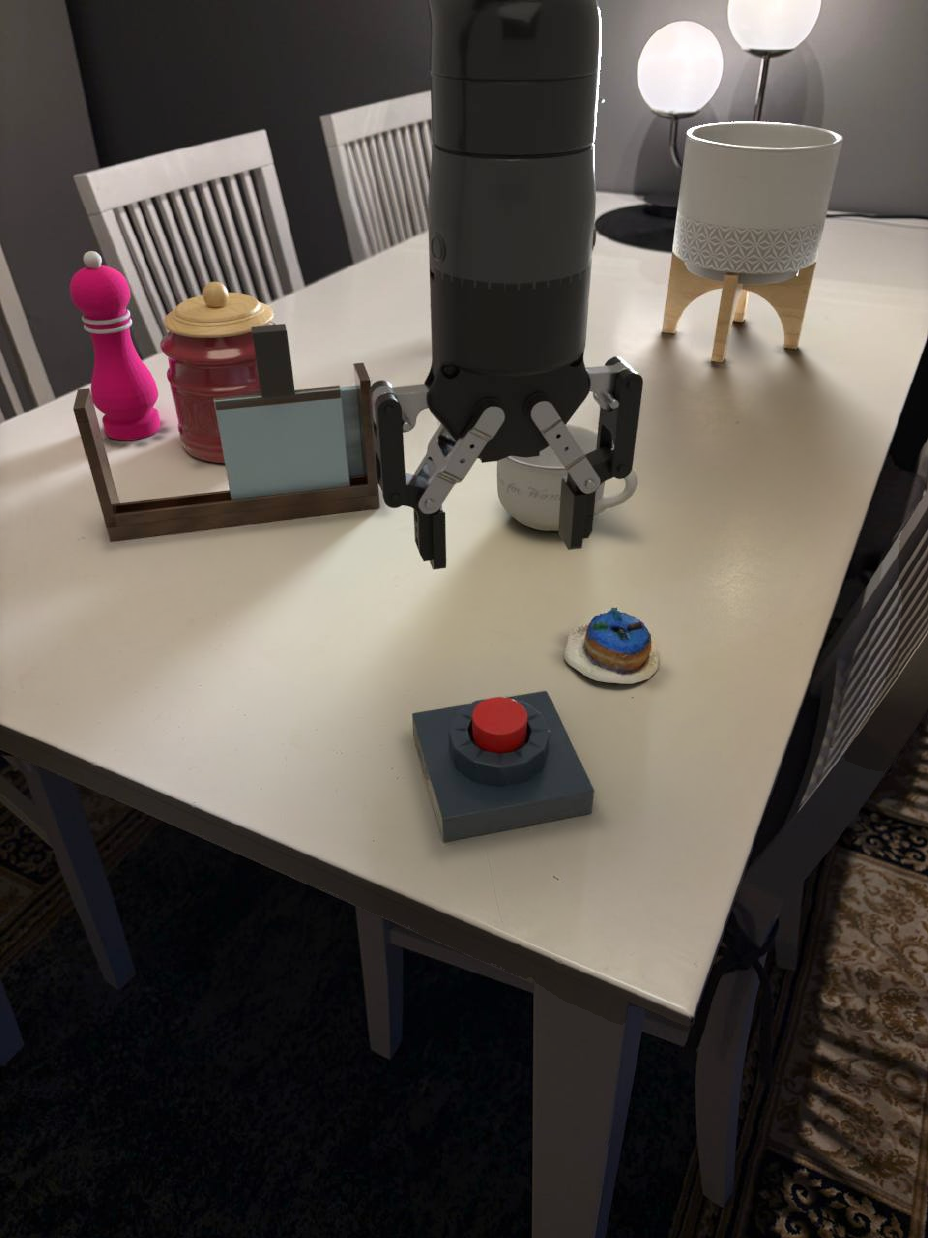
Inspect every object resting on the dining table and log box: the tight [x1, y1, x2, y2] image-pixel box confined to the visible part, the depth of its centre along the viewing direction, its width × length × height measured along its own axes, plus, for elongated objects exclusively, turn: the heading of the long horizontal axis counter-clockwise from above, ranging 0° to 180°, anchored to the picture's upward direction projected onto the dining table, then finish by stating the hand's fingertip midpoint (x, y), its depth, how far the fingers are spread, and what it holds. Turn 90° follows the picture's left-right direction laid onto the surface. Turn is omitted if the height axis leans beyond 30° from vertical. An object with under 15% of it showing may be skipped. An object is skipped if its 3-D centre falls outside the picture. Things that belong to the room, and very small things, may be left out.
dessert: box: [563, 607, 660, 685], centre depth 72 cm, size 8×7×6 cm
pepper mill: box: [69, 250, 162, 441], centre depth 101 cm, size 7×7×20 cm
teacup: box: [496, 423, 639, 532], centre depth 87 cm, size 14×11×8 cm
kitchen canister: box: [159, 281, 277, 464], centre depth 99 cm, size 13×13×18 cm
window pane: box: [214, 323, 350, 500], centre depth 85 cm, size 12×2×17 cm, turn 104°
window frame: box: [72, 362, 381, 542], centre depth 87 cm, size 26×4×14 cm, turn 104°
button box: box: [411, 690, 595, 843], centre depth 61 cm, size 10×10×4 cm
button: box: [472, 696, 527, 754], centre depth 60 cm, size 4×4×2 cm
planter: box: [661, 121, 844, 363], centre depth 121 cm, size 19×19×26 cm
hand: (503, 551), depth 52 cm, fingers open, 7 cm apart
